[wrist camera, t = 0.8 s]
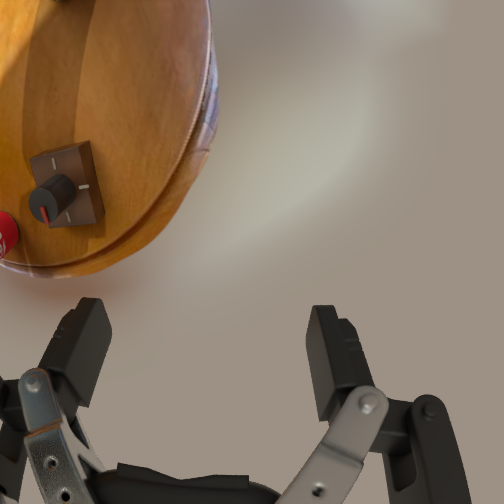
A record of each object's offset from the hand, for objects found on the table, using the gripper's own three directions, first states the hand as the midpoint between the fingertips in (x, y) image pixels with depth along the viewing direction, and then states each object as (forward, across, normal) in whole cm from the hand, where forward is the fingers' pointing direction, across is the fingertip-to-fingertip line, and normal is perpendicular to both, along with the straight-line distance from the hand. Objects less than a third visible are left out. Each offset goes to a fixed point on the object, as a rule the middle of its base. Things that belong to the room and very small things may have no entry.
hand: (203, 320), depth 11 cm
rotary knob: (+24, +21, +4) cm, 32 cm away
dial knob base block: (+27, +21, +4) cm, 34 cm away
